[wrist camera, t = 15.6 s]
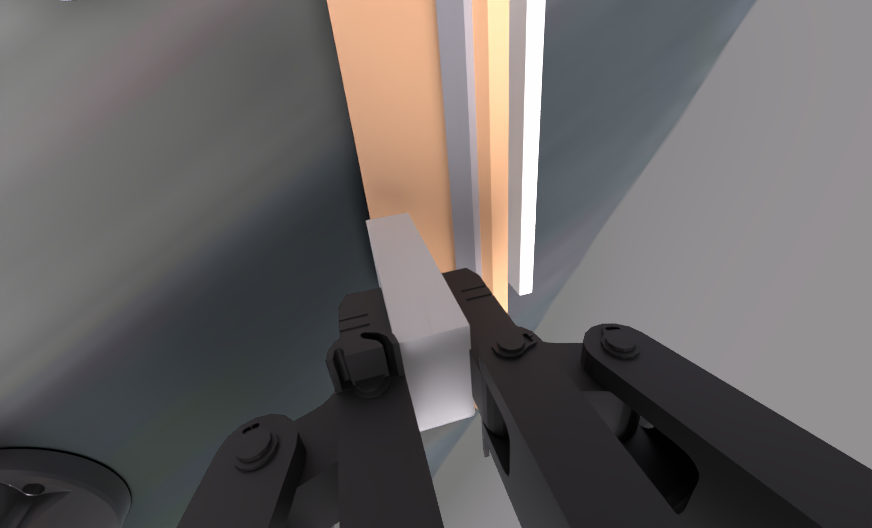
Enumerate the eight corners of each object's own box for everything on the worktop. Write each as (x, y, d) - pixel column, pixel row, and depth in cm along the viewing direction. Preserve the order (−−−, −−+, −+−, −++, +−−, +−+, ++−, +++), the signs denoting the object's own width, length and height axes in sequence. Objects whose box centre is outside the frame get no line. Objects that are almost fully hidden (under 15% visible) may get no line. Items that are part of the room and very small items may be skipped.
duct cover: (401, 323, 25) (388, 331, 25) (336, -41, 15) (311, -42, 15) (507, 416, 18) (491, 429, 18) (510, -154, 8) (474, -164, 8)
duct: (388, 278, 31) (401, 323, 25) (333, -12, 21) (336, -41, 15) (497, 254, 33) (531, 292, 27) (494, -23, 23) (547, -53, 17)
